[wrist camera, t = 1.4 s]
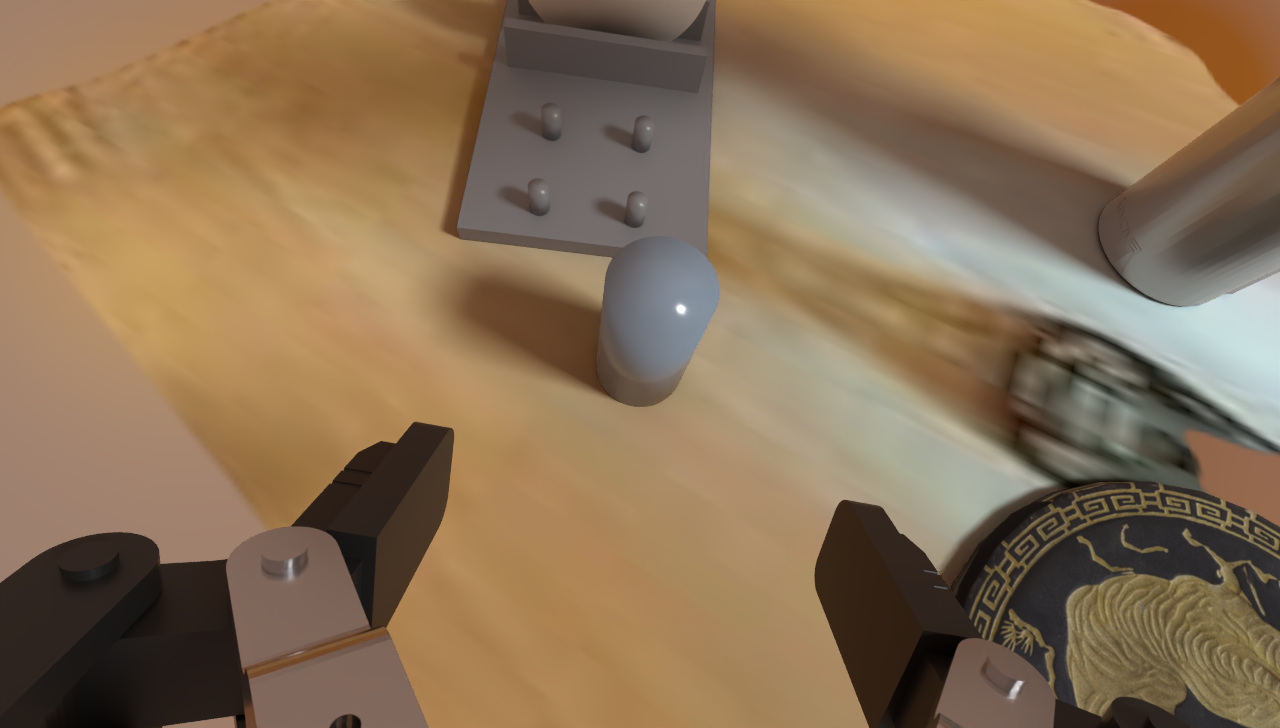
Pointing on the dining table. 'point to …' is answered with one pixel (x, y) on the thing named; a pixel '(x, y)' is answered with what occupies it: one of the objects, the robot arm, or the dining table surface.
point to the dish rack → (595, 127)
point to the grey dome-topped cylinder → (653, 318)
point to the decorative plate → (1137, 600)
